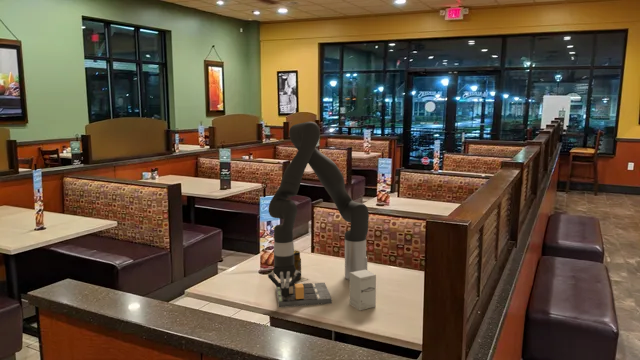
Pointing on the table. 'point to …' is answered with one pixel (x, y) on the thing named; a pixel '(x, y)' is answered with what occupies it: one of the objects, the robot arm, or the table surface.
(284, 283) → the block
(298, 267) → the condiment
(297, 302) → the panel
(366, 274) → the supplement box
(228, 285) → the table surface
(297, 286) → the block
